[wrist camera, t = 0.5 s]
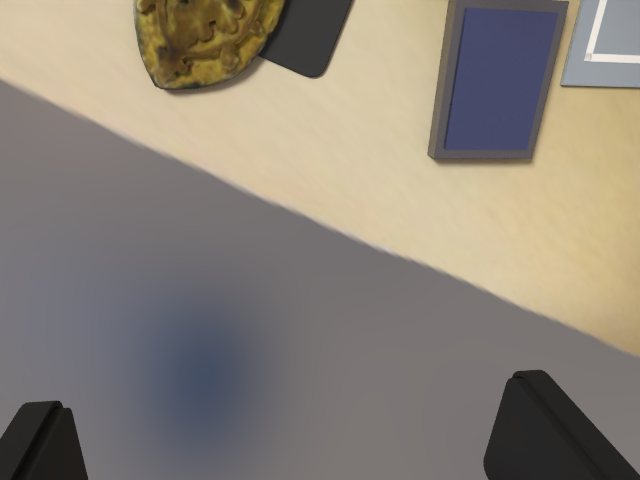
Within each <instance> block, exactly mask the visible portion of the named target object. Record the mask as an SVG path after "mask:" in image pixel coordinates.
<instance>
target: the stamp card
mask: <svg viewBox="0 0 640 480" xmlns="http://www.w3.org/2000/svg"><path fill="white" fill-rule="evenodd" d="M560 85H578V86H613V87H640V0H581V3H580V7H579V11H578V15H577V19H576V23H575V27H574V31H573V35H572V39H571V43H570V47H569V51H568V55H567V59H566V63H565V67H564V71H563V75H562V79H561V83H560Z"/></svg>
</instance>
